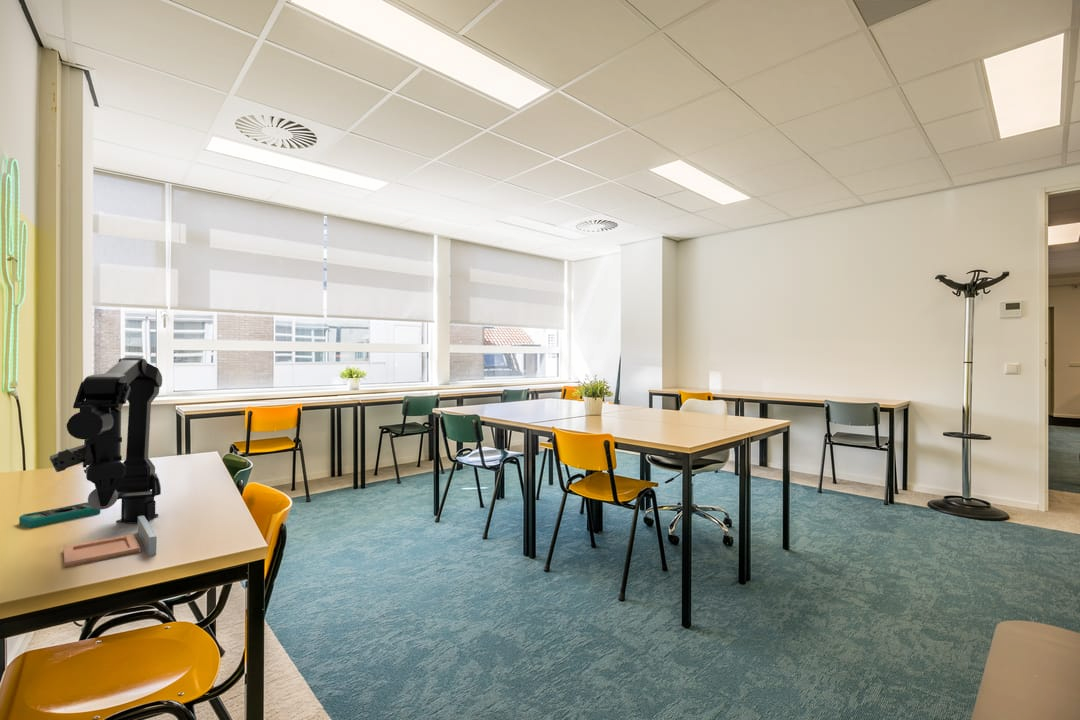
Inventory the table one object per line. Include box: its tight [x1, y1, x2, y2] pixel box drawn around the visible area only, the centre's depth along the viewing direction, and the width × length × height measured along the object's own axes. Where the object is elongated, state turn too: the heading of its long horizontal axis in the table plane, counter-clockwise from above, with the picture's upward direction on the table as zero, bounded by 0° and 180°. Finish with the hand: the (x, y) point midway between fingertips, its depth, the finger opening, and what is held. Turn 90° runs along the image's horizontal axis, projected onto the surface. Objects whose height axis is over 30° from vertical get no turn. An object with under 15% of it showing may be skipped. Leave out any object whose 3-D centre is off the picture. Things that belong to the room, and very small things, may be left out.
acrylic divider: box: [137, 516, 158, 557], centre depth 115 cm, size 20×1×4 cm, turn 45°
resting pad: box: [62, 533, 141, 568], centre depth 110 cm, size 12×12×1 cm
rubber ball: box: [87, 488, 118, 511], centre depth 110 cm, size 5×5×5 cm
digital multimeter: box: [18, 501, 101, 529], centre depth 132 cm, size 7×15×3 cm, turn 153°
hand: (102, 503), depth 110 cm, fingers closed on rubber ball, 5 cm apart
